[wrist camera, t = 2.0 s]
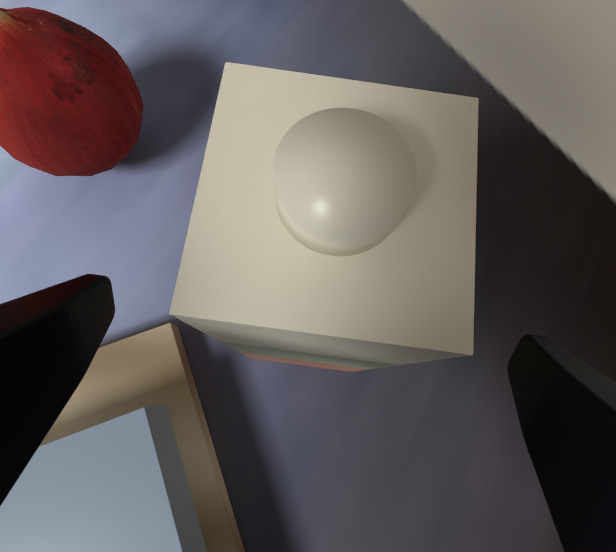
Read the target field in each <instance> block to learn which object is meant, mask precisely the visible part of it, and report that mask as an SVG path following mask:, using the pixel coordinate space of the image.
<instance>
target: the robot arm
mask: <svg viewBox="0 0 616 552" xmlns="http://www.w3.org/2000/svg"><path fill="white" fill-rule="evenodd" d="M114 313H115V305H114V298H113V292H112V285H111V281H110V279H109V278H108V277H107V276H102V275H94V274H86V275H83V276H80V277H77V278H74V279H72V280H69V281H66V282H63V283H60V284H57V285H54V286H51V287H48V288H46V289H43V290H40V291H37V292H34V293H31V294H28V295H25V296H23V297H20V298H17V299H14V300H11V301H8V302H5V303H2V304H0V506H1V505H2V503H3V502H4V500H5V498H6V497H7V495H8V494H9V492H10V491H11V489H12V488H13V486H14V485H15V483H16V481H17V480H18V478H19V477H20V475H21V474H22V472H23V471H24V469H25V468H26V466H27V464H28V463H29V461H30V460H31V458H32V457H33V455H34V454H35V452H36V451H37V449H38V447H39V446H40V444H41V443H42V441H43V440H44V438H45V437H46V435H47V434H48V432H49V430H50V429H51V427H52V426H53V424H54V423H55V421H56V420H57V418H58V417H59V415H60V413H61V412H62V410H63V409H64V407H65V406H66V404H67V403H68V401H69V400H70V398H71V396H72V395H73V393H74V392H75V390H76V389H77V387H78V385H79V384H80V382H81V381H82V379H83V377H84V376H85V374H86V372H87V370H88V368H89V366H90V364H91V362H92V360H93V358H94V356H95V354H96V352H97V350H98V348H99V346H100V344H101V342H102V340H103V338H104V336H105V334H106V332H107V330H108V328H109V326H110V324H111V322H112V320H113V317H114ZM508 376H509V380H510V384H511V388H512V393H513V397H514V401H515V405H516V409H517V413H518V418H519V422H520V426H521V429H522V433H523V437H524V440H525V443H526V446H527V449H528V452H529V454H530V457H531V460H532V463H533V466H534V468H535V471H536V474H537V477H538V479H539V482H540V485H541V488H542V491H543V493H544V496H545V499H546V502H547V505H548V507H549V510H550V513H551V516H552V519H553V521H554V524H555V527H556V530H557V533H558V535H559V538H560V541H561V544H562V546H563V549H564V552H616V382H615V381H613V380H612V379H610V378H609V377H607V376H606V375H604V374H603V373H601V372H599V371H598V370H596V369H595V368H593V367H592V366H590V365H589V364H587V363H585V362H584V361H582V360H581V359H579V358H578V357H576V356H575V355H573V354H572V353H570V352H568V351H567V350H565V349H564V348H562V347H561V346H559V345H558V344H556V343H554V342H553V341H551V340H550V339H548V338H547V337H544V336H538V335H530V334H527V335H524V336H523V337H522V338H521V339H520V341H519V343H518V345H517V347H516V349H515V351H514V352H513V354H512V356H511V358H510V360H509V363H508Z"/></svg>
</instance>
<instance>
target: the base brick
mask: <svg viewBox="0 0 616 552" xmlns="http://www.w3.org/2000/svg"><path fill="white" fill-rule="evenodd" d="M0 552H207V550H206V546H205V542H204V539H203V535H202V531H201V528H200V524H199V521H198V517H197V513H196V510H195V506H194V502H193V499H192V495H191V492H190V488H189V484H188V481H187V477H186V474H185V470H184V466H183V463H182V459H181V455H180V452H179V448H178V445H177V441H176V437H175V434H174V430H173V427H172V423H171V419H170V416H169V412H168V408H167V405H166V403H164V404H159V405H154V406H148V407H144V408H141V409H138V410H136V411H133V412H130V413H128V414H125V415H122V416H120V417H117V418H114V419H112V420H109V421H106V422H104V423H101V424H99V425H96V426H93V427H91V428H88V429H85V430H83V431H80V432H77V433H75V434H72V435H69V436H67V437H64V438H61V439H59V440H56V441H53V442H51V443H48V444H45V445H43V446H40V447H38V449H37V451H36V452H35V454H34V455H33V457H32V458H31V460H30V461H29V463H28V464H27V466H26V468H25V469H24V471H23V472H22V474H21V475H20V477H19V478H18V480H17V481H16V483H15V485H14V486H13V488H12V489H11V491H10V492H9V494H8V495H7V497H6V498H5V500H4V502H3V503H2V505H1V506H0Z"/></svg>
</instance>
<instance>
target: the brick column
mask: <svg viewBox="0 0 616 552" xmlns="http://www.w3.org/2000/svg"><path fill="white" fill-rule="evenodd" d="M477 145H478V98H475V97H468V96H461V95H454V94H447V93H439V92H432V91H425V90H418V89H411V88H404V87H397V86H390V85H383V84H376V83H369V82H362V81H355V80H348V79H341V78H334V77H327V76H320V75H313V74H306V73H299V72H292V71H285V70H278V69H271V68H264V67H257V66H250V65H243V64H236V63H229V62H225V66H224V71H223V75H222V80H221V84H220V89H219V93H218V98H217V102H216V107H215V111H214V116H213V120H212V125H211V129H210V134H209V138H208V143H207V147H206V152H205V156H204V161H203V165H202V169H201V174H200V178H199V183H198V187H197V192H196V196H195V201H194V205H193V210H192V214H191V219H190V223H189V228H188V232H187V237H186V241H185V246H184V250H183V255H182V259H181V264H180V268H179V273H178V277H177V282H176V286H175V290H174V295H173V299H172V304H171V308H170V313H169V314H170V315H172V316H174V317H176V318H177V319H179V320H181V321H183V322H185V323H187V324H188V325H190V326H192V327H194V328H196V329H198V330H199V331H201V332H203V333H205V334H207V335H209V336H210V337H212V338H214V339H216V340H218V341H219V342H221V343H223V344H225V345H227V346H229V347H230V348H232V349H234V350H236V351H238V352H240V353H241V354H243V355H245V356H247V357H249V358H251V359H259V360H266V361H274V362H281V363H289V364H296V365H303V366H311V367H318V368H326V369H333V370H340V371H348V372H352V371H360V370H367V369H374V368H382V367H389V366H397V365H404V364H412V363H419V362H427V361H434V360H441V359H449V358H456V357H464V356H471V355H473V339H474V290H475V242H476V193H477Z"/></svg>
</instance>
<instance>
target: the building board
mask: <svg viewBox="0 0 616 552" xmlns="http://www.w3.org/2000/svg"><path fill="white" fill-rule="evenodd" d="M164 403H166V405H167V408H168V412H169V416H170V419H171V423H172V427H173V430H174V434H175V437H176V441H177V445H178V448H179V452H180V455H181V459H182V463H183V466H184V470H185V474H186V477H187V481H188V484H189V488H190V492H191V495H192V499H193V502H194V506H195V510H196V513H197V517H198V521H199V524H200V528H201V531H202V535H203V539H204V542H205V546H206V550H207V552H245V550H244V547H243V544H242V540H241V537H240V534H239V530H238V527H237V523H236V520H235V517H234V513H233V510H232V507H231V503H230V500H229V496H228V493H227V490H226V486H225V483H224V480H223V476H222V473H221V469H220V466H219V463H218V459H217V456H216V453H215V449H214V446H213V442H212V439H211V436H210V432H209V429H208V426H207V422H206V419H205V415H204V412H203V409H202V405H201V402H200V399H199V395H198V392H197V389H196V385H195V382H194V378H193V375H192V372H191V368H190V365H189V362H188V358H187V355H186V351H185V348H184V345H183V341H182V338H181V335H180V331H179V328H178V326H176V325H174V324H172V323H168V324H165V325H162V326H159V327H156V328H154V329H151V330H148V331H145V332H142V333H139V334H137V335H134V336H131V337H128V338H125V339H122V340H120V341H117V342H114V343H111V344H108V345H105V346H103V347H100V348H98V350H97V352H96V354H95V356H94V358H93V360H92V362H91V364H90V366H89V368H88V370H87V372H86V374H85V376H84V377H83V379H82V381H81V382H80V384H79V385H78V387H77V389H76V390H75V392H74V393H73V395H72V396H71V398H70V400H69V401H68V403H67V404H66V406H65V407H64V409H63V410H62V412H61V413H60V415H59V417H58V418H57V420H56V421H55V423H54V424H53V426H52V427H51V429H50V430H49V432H48V434H47V435H46V437H45V438H44V440H43V441H42V443H41V444H40V446H43V445H45V444H48V443H51V442H53V441H56V440H59V439H61V438H64V437H67V436H69V435H72V434H75V433H77V432H80V431H83V430H85V429H88V428H91V427H93V426H96V425H99V424H101V423H104V422H106V421H109V420H112V419H114V418H117V417H120V416H122V415H125V414H128V413H130V412H133V411H136V410H138V409H141V408H144V407H148V406H154V405H159V404H164ZM40 446H39V447H40Z"/></svg>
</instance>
